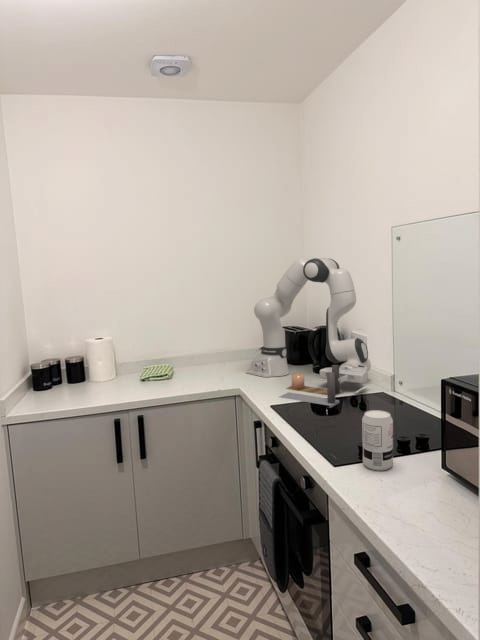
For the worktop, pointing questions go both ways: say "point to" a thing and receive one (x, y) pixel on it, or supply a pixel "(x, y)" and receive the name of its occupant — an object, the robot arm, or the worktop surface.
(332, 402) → the slate-grey strip
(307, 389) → the walnut strip
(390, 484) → the worktop surface
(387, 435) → the supplement can
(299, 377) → the tan rounded blob
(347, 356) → the robot arm
